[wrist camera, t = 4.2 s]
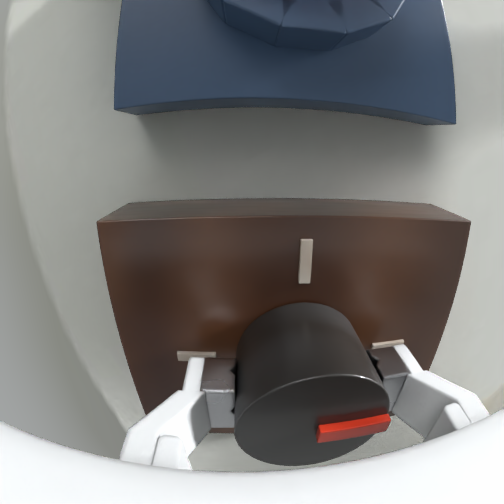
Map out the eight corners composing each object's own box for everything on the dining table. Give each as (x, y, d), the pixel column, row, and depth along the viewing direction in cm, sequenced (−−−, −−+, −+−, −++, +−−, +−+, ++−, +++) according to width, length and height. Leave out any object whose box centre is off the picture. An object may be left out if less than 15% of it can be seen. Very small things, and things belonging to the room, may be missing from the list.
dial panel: (162, 387, 15) (150, 430, 12) (128, 202, 11) (93, 222, 8) (390, 376, 15) (410, 413, 12) (430, 203, 12) (474, 222, 9)
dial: (237, 396, 11) (237, 476, 7) (233, 303, 9) (229, 389, 6) (344, 389, 11) (370, 462, 7) (365, 298, 10) (414, 371, 6)
